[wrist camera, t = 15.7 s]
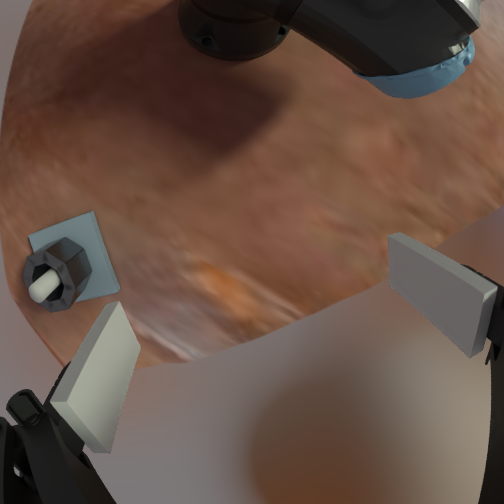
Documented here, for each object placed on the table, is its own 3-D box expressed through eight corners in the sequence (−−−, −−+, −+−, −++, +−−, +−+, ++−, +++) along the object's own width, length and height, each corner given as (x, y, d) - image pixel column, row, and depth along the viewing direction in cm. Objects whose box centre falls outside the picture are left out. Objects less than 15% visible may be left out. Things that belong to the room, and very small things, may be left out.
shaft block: (33, 233, 36) (-11, 258, 25) (93, 210, 36) (53, 232, 26) (60, 302, 40) (27, 340, 29) (120, 287, 40) (94, 330, 30)
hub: (37, 246, 34) (16, 260, 29) (78, 232, 35) (58, 245, 29) (57, 295, 37) (39, 315, 31) (98, 285, 37) (82, 305, 32)
